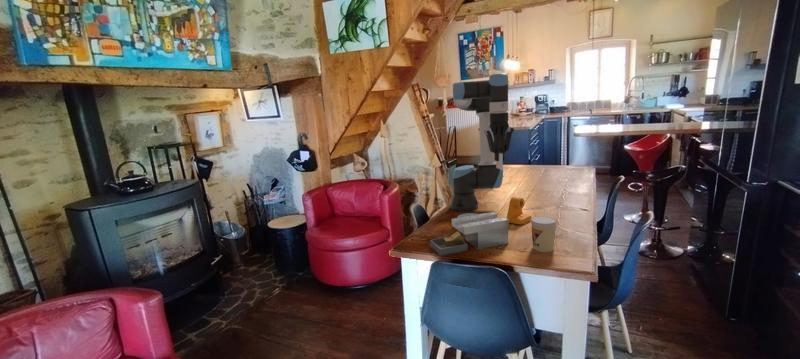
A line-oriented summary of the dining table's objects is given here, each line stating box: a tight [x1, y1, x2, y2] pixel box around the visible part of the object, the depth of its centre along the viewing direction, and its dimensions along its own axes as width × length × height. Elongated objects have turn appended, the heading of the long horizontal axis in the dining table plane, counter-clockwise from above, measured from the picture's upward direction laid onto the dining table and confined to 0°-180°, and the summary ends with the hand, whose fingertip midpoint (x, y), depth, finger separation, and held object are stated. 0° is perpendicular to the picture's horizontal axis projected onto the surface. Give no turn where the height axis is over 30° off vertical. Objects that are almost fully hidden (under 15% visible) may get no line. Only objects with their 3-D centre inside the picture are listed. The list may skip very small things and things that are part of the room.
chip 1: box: [444, 236, 454, 248], centre depth 156 cm, size 4×4×4 cm
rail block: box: [451, 211, 509, 250], centre depth 159 cm, size 12×20×10 cm, turn 107°
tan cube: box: [450, 230, 466, 245], centre depth 155 cm, size 4×4×4 cm
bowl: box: [456, 212, 479, 218], centre depth 175 cm, size 11×12×6 cm
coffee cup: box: [530, 215, 557, 253], centre depth 149 cm, size 9×9×12 cm
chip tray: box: [429, 235, 469, 257], centre depth 156 cm, size 11×12×3 cm
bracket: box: [506, 196, 532, 226], centre depth 181 cm, size 11×7×12 cm, turn 132°
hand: (499, 168), depth 160 cm, fingers closed
